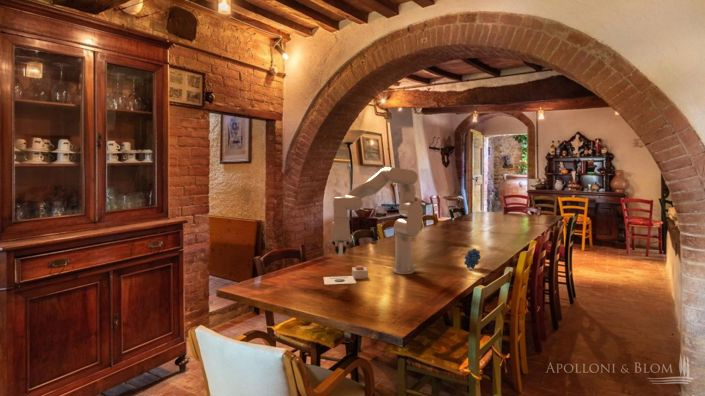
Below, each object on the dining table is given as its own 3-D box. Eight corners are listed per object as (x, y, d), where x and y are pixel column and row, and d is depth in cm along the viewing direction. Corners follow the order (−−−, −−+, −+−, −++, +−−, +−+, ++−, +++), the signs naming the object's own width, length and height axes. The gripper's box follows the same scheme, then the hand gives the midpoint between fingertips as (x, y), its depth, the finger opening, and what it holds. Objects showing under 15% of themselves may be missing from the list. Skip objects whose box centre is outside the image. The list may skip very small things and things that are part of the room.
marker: (343, 255, 226) (343, 237, 225) (343, 256, 223) (343, 238, 222) (337, 255, 226) (337, 237, 225) (337, 256, 222) (337, 238, 222)
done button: (362, 270, 236) (362, 265, 235) (363, 272, 232) (363, 267, 232) (356, 270, 235) (356, 265, 235) (356, 272, 232) (356, 267, 232)
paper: (353, 276, 235) (353, 275, 235) (356, 283, 221) (356, 282, 221) (323, 277, 233) (323, 276, 233) (324, 284, 219) (324, 284, 219)
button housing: (365, 274, 238) (365, 266, 238) (367, 278, 230) (367, 270, 230) (351, 275, 238) (351, 267, 237) (353, 278, 230) (353, 271, 229)
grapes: (475, 265, 257) (475, 246, 256) (482, 268, 251) (483, 248, 250) (460, 267, 253) (460, 248, 252) (467, 270, 246) (467, 250, 245)
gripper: (354, 218, 227) (354, 251, 229) (325, 219, 225) (325, 252, 227) (356, 220, 220) (356, 254, 221) (325, 220, 218) (325, 255, 219)
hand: (340, 253), depth 224 cm, fingers closed on marker, 3 cm apart
